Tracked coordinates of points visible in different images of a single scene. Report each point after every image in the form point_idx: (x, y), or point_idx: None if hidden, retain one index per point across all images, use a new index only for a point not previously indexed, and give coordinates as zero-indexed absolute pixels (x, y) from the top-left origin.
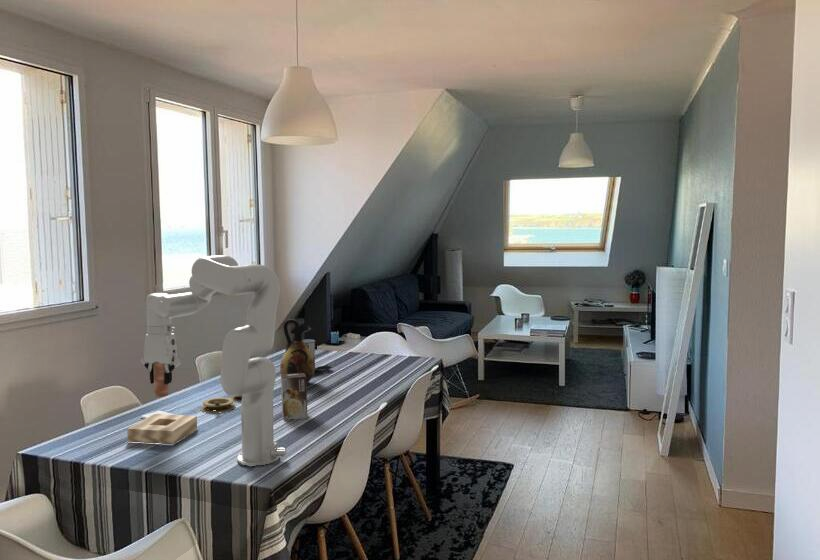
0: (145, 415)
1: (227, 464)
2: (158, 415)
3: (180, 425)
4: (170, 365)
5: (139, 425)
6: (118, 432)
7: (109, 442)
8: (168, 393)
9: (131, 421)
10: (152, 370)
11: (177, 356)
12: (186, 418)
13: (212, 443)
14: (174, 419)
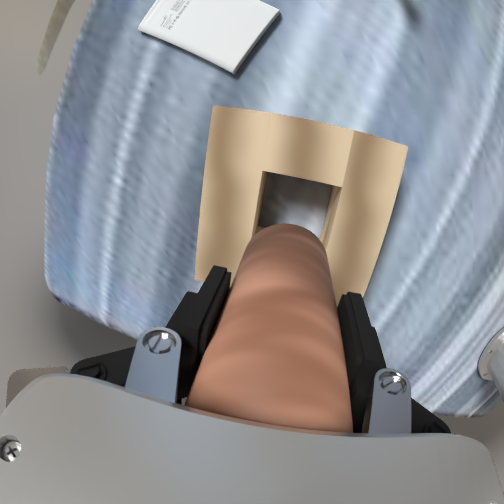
0: (149, 23)
1: (462, 371)
2: (239, 128)
3: (373, 259)
4: (388, 432)
5: (219, 251)
6: (134, 164)
7: (155, 246)
8: (326, 255)
9: (124, 64)
10: (187, 391)
11: (496, 491)
12: (376, 175)
13: (448, 270)
14: (330, 183)
